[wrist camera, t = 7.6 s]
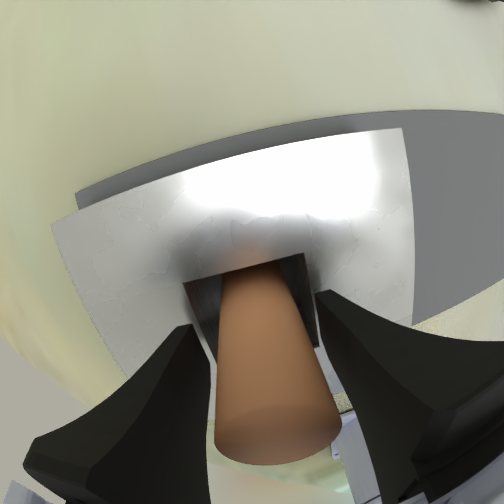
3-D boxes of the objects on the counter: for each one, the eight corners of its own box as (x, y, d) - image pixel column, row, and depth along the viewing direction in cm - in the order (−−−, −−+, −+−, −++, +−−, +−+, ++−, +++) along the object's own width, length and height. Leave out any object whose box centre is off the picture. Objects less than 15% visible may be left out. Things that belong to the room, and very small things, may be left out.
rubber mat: (503, 274, 16) (506, 276, 16) (166, 385, 17) (165, 389, 17) (502, 115, 12) (505, 115, 11) (78, 192, 12) (74, 193, 12)
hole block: (377, 328, 16) (405, 367, 12) (172, 378, 16) (162, 424, 13) (358, 133, 12) (401, 127, 8) (93, 205, 12) (50, 223, 9)
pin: (285, 293, 15) (342, 448, 6) (231, 306, 15) (235, 471, 6) (273, 241, 14) (341, 386, 5) (215, 256, 14) (193, 418, 5)
